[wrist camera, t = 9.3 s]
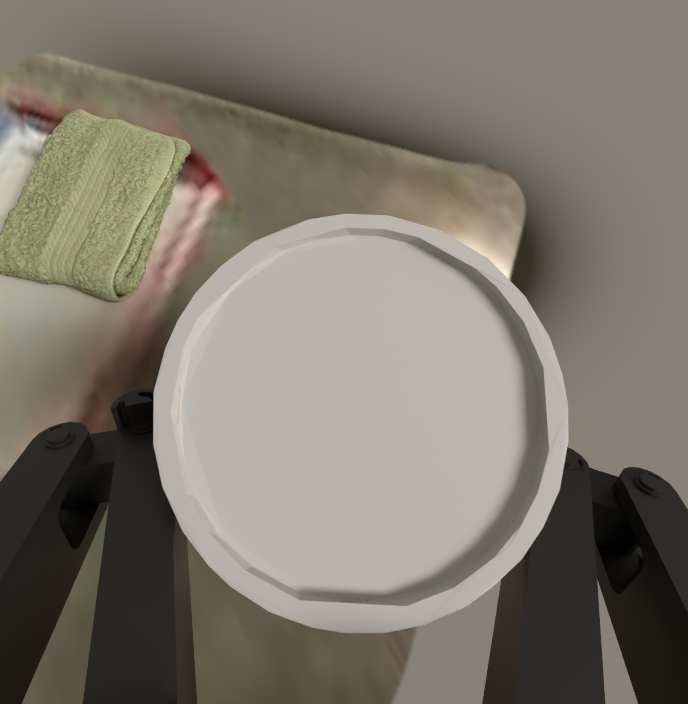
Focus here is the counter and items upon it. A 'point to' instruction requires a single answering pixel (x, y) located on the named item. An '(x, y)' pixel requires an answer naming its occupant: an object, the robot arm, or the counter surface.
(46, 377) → the counter surface
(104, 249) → the washcloth
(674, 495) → the robot arm
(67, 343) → the counter surface
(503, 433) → the disposable coffee cup
